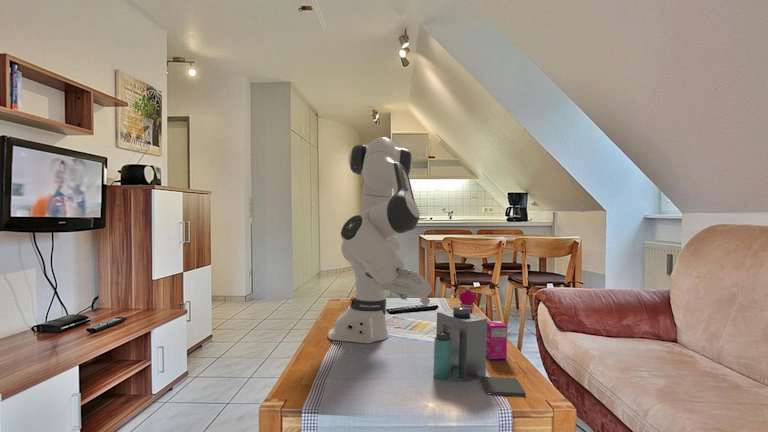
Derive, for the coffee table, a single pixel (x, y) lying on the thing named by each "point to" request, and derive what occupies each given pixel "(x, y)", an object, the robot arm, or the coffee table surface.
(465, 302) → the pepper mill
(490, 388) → the mat
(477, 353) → the housing
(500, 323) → the supplement box
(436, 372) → the teal cylindrical piece
